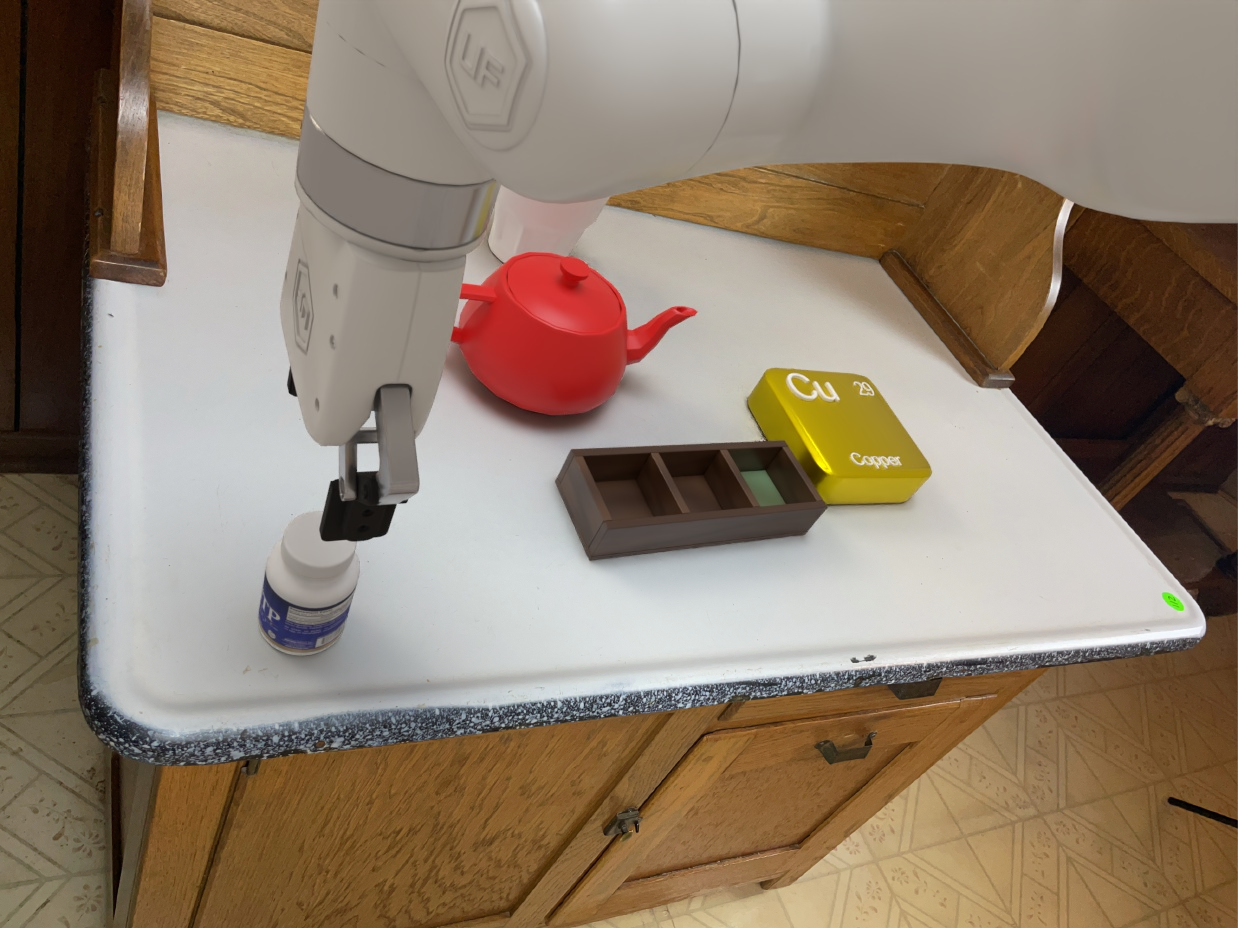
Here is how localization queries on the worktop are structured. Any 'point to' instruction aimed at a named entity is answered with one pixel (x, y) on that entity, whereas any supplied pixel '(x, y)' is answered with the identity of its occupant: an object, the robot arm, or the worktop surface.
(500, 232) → the cup
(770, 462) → the rack
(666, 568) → the worktop surface
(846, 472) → the element tile
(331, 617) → the pill bottle
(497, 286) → the teapot
